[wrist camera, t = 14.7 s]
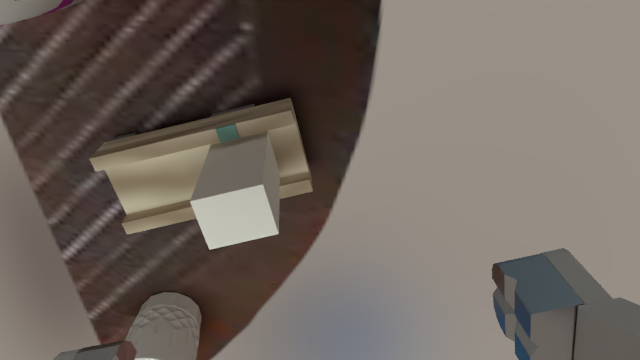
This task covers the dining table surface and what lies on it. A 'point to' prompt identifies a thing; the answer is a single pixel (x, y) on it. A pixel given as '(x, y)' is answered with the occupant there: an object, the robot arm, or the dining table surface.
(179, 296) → the white cup
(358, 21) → the dining table surface
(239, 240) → the rider
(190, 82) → the dining table surface
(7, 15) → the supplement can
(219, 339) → the dining table surface
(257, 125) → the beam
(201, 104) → the dining table surface
